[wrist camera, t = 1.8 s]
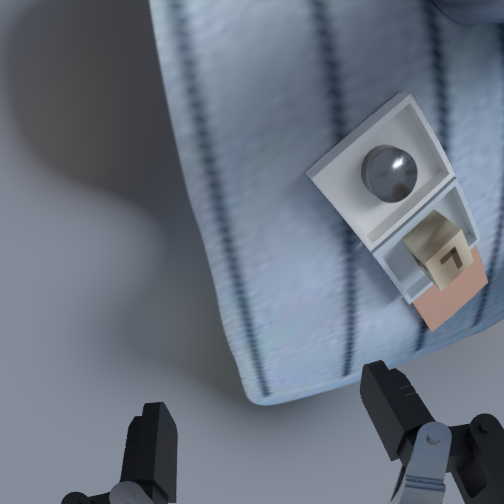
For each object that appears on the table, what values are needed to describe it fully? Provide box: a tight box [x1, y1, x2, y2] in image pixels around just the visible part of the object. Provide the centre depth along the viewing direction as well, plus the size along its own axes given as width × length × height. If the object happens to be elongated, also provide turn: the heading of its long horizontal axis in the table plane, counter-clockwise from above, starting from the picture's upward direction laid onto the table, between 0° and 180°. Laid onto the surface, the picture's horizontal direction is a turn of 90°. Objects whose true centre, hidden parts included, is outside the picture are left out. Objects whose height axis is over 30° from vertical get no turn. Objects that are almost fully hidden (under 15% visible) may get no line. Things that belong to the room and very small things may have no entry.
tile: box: [412, 245, 488, 332], centre depth 35 cm, size 11×9×1 cm
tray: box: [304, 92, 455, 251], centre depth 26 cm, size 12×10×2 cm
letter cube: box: [402, 209, 474, 291], centre depth 29 cm, size 5×5×5 cm
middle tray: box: [367, 177, 481, 304], centre depth 30 cm, size 12×10×2 cm
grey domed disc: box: [361, 144, 418, 203], centre depth 26 cm, size 5×5×2 cm
